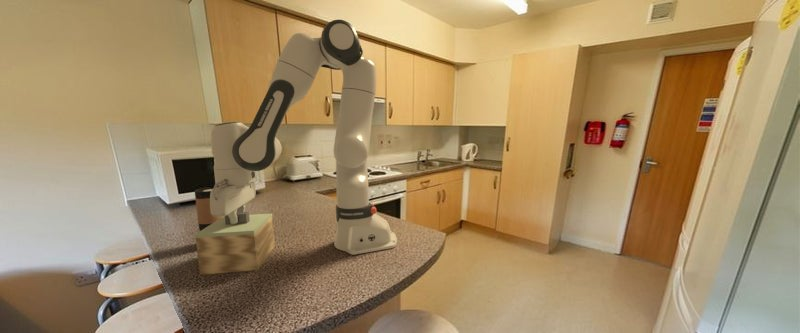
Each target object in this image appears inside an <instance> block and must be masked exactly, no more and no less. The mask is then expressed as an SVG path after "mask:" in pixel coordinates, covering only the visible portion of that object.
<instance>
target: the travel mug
mask: <svg viewBox="0 0 800 333" xmlns="http://www.w3.org/2000/svg"><path fill="white" fill-rule="evenodd" d="M212 190H213V188H211V187H203V188H198V189H196V190H194V196H195V206H196V207H195V208H196V215H197V224H198V229H199V232H200V231H201V230H203V229H204V228H206V227H208V226H209V225H211V224H212V223H214V222H216V221H217V220H219V219H220V218H222V217H224V216H220V217H213V216H212V215H211V212H210V193H211V191H212Z"/></svg>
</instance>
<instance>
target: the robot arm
mask: <svg viewBox="0 0 800 333" xmlns="http://www.w3.org/2000/svg"><path fill="white" fill-rule="evenodd" d="M363 53H364V51H363V48H362V45H361V43H360V38H359V36H358V33H357V31H356V29H355V27H354V26H353V25H352V24H351V23H350V22H348V21H346V20H345V19H344V20H343V19H335V20H331V21H329V22H328V23H327V24H326V25H325V26H324V27H323V29H322V32H321V36H320V37H313V36H311V35H310V34H307V33H305V32H304V33H302V32H297V33H294V34H293V35H292V36H291V37H290V38H289V40H288V42H287V43H286V44H285V45H284V48H283V49H282V51H281V52H280V55H279V58H278V59H277V62H276V64H275V67H274V70H273V72H272V75H271V79H270V82H269V86H268V87H267V91H266V94H265V96H264V98H263V99H262V100H263V101H262V102H261V104H260V106H259V108H258V110H257V113H256V114H255V117H254V118H253V120H252V122H251V125H250V126H247V125H245V124H244V123H243V122H241V121H231V122H230V121H229V122H223V123H219V124H216V125H214V126H213V127H212V128H211V134H210V137H211V138H210V142H211V144H210V146H211V154H212V156H213V159H214V164H213V172H214V174H213V175H214V182H215V183H214V186H213V187H212V189H213V190H212V191H211V193H210V212H211V215H212V216H213V217H220V216H226V215H228V216H229V218H230V223H231V224H236V223H237V222H239V216H237V214H236V213H237V212H246V211H245V210H246V204H248V203H249V202H251V200H253V199H256V198H255V197H256V193H257V192H256V190H257V189H256V179H255V178H256V177H257V172H259V171H263V170H266V169H267V168H268V167H269V166H270V165H271V164H273V163H275V162H276V161H277V160H278V159H279V158H280V157H281V155H282V153H283V146H282V144H281V141H280V139H279V138H277V134H278V133H279V129H280V128H281V125H282V123H283V121H284V118H285V116H287V112H288V111H289V110H290V108H292V106H294V105H295V104H297V103H298V102H300V101H302V100H303V99H304V98H305V96H306V95H307V94H308V92H309V91H310V89H311V88H312V86H313V83H314V81H315V79H316V76H317V74H318V72H319V70H320V68H321V67H322V68H327V69H330V70H336V71H339V70H340V71H341V72H342V87H341V96H340V100H339V102H340V103H339V109H338V110H339V111H338V118H337V124H336V128H335V129H336V130H335V135H334V136H335V137H334V145H333V156H334V158H335V164H336V166H335V167H336V168H335V169H336V171H335V172H336V173H335V176H336V177H335V180H336V182H335V184H336V186H335V187H336V206H335V218H336V223H337V224H336V233H335V238H334V242H333V244H334V245H333V246H334V247H335V248H336V249H338V250H339V251H343V252H346V253H347V254H348V255H349V254H350V255H352V256H353V255H361V254H365V253H372V252H377V251H382V250H389V249H393V248H395V247H397V245H398V238H397V235H396V233H395V232H393V231H392V230H391V227H390V224H389V223H388V221H387V220H386V219H385V218H383V217H382V216H380V215H379V214H377V207H376V206H375V205H374V203H373V202H372V203H371V202H370V198H369V197H370V196H369V195H370V194H369V174H368V173H369V172H368V157H369V151H370V146H371V145H370V144H371V136H372V135H371V133H372V122H373V113H374V107H375V99H376V91H377V68H376V64H374V62H373V61H372V60H371V59H369V58H367V57H364V56H363Z"/></svg>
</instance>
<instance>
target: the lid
mask: <svg viewBox="0 0 800 333" xmlns="http://www.w3.org/2000/svg"><path fill="white" fill-rule="evenodd" d="M236 214H237V216H239V222H237V223H236V224H231V223H230V218H229V216H228V215H226V216H224V217H222V218H220V219H219V220H217V221H216V222H214V223H212V224H211V225H209V226H208V227H206V228H204V229H203V230H201V231H200V230H199V231H198V232H197V233H195V234H194V239H195V238H200V237H216V236H231V235H246V234H255V233H256V232H257V231H258V230H259V229H260V228H261V227H262V226H263V225H264V224H265V223H266V222H267V221H268V220H269V219H270V218H271V217H272V218H273V213H260V214H259V213H257V214H255V213H254V214H250V212H249V211H244V212H236Z"/></svg>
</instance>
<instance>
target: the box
mask: <svg viewBox="0 0 800 333" xmlns="http://www.w3.org/2000/svg"><path fill="white" fill-rule="evenodd" d="M273 221H274V219H273V216H272V217H271V218H270V219H269V220H268V221H267V222H266V223H265V224H264V225H263V226H262V227H261V228H260V229H259V230H258V231H257V232H256V233H255V234H246V235H231V236H216V237H200V238H195V237H194V239H195V246H196V253H197V259H198V260H197V261H198V268H199V275H200V276H204V275H215V274H216V275H217V274H227V273H237V272H249V271H258V270H259V269H260V267H261V266H262V265H263V263H265V261H266V259H267V258H268V256H269V255H270V254H271V253H272V251H273V249H274V248H275V247H276V246H275V245H276V243H275V233H274V232H275V231H274V222H273Z"/></svg>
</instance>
